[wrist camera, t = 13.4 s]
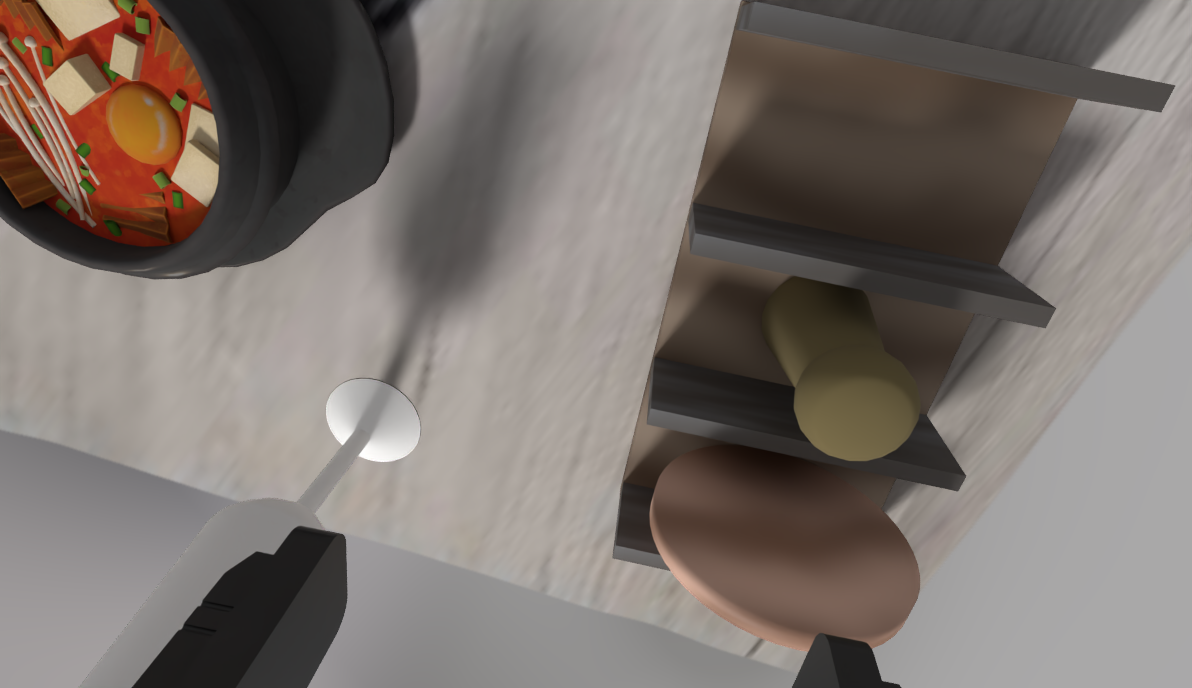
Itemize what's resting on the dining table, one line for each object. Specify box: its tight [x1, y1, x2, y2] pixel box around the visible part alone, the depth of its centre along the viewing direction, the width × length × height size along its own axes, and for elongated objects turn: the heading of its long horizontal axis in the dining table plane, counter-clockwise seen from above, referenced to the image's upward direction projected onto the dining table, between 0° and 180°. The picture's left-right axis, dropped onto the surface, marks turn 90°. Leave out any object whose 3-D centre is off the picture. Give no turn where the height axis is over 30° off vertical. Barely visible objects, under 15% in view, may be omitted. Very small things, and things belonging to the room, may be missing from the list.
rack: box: [613, 1, 1175, 652], centre depth 32 cm, size 30×16×15 cm, turn 170°
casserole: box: [0, 0, 394, 279], centre depth 33 cm, size 25×19×8 cm
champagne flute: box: [79, 379, 421, 688], centre depth 34 cm, size 7×7×24 cm
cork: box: [761, 276, 921, 461], centre depth 32 cm, size 6×6×11 cm
